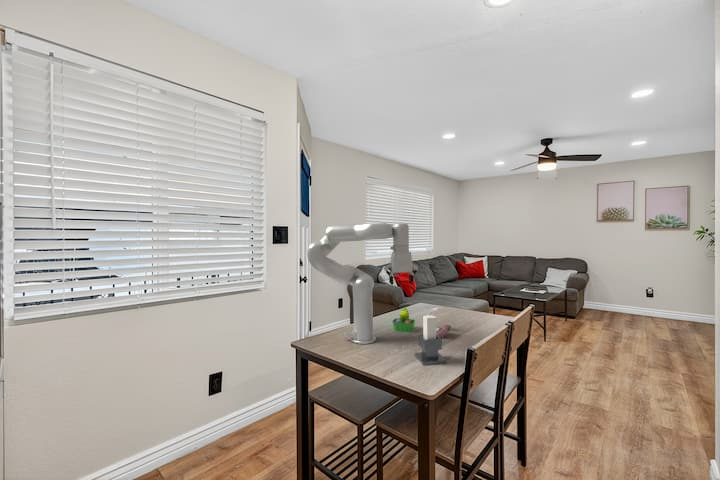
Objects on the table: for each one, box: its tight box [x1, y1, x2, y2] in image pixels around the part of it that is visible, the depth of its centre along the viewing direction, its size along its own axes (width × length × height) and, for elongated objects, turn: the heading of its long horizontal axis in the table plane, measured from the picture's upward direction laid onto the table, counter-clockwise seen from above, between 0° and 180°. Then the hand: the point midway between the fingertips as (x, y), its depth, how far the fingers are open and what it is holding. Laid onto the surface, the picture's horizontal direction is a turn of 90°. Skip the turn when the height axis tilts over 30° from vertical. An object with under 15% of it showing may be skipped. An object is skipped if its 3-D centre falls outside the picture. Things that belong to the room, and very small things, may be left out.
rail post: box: [422, 314, 437, 340], centre depth 131 cm, size 4×4×12 cm
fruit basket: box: [391, 307, 416, 333], centre depth 172 cm, size 11×9×11 cm
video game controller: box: [436, 324, 452, 338], centre depth 160 cm, size 10×5×7 cm, turn 149°
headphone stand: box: [426, 307, 441, 333], centre depth 170 cm, size 5×6×12 cm
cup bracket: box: [414, 333, 447, 366], centre depth 131 cm, size 10×10×10 cm
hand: (401, 283), depth 152 cm, fingers open, 9 cm apart
